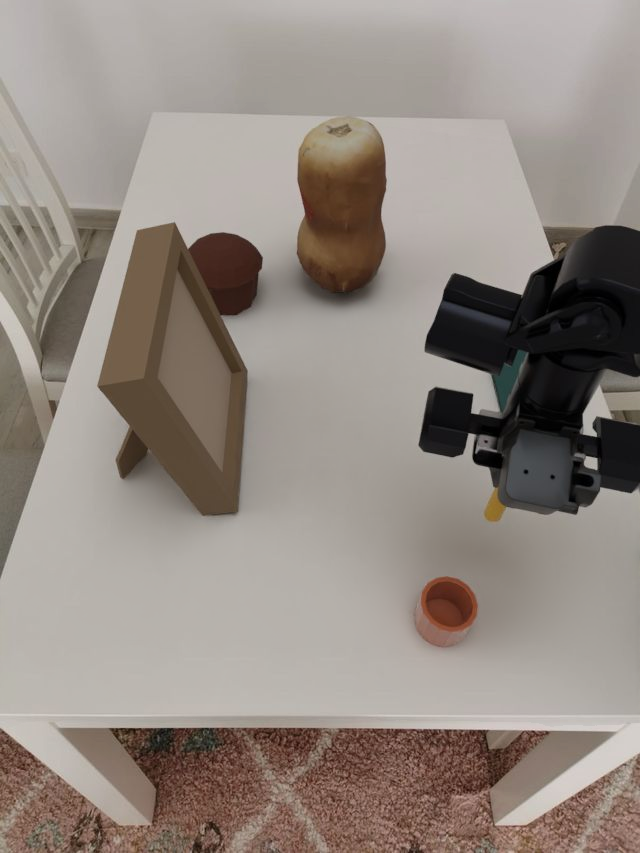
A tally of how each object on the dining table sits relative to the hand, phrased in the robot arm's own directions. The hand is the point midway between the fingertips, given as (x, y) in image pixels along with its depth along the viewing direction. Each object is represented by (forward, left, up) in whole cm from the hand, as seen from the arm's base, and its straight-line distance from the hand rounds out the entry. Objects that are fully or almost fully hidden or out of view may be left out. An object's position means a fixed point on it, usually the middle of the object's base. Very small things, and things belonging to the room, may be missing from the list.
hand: (506, 485), depth 61 cm
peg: (0, 0, -6) cm, 6 cm away
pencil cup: (+3, +10, -13) cm, 17 cm away
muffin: (+42, -32, -13) cm, 54 cm away
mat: (-4, -26, -13) cm, 29 cm away
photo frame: (+38, -5, -13) cm, 40 cm away
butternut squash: (+26, -40, -13) cm, 49 cm away
